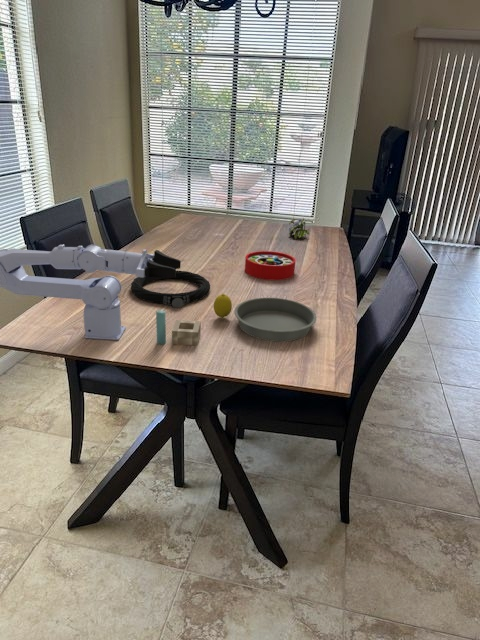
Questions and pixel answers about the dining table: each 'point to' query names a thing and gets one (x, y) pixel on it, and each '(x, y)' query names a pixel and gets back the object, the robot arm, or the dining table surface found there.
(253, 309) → the cake pan
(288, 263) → the toy clock
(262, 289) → the dining table surface
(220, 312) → the lemon
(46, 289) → the robot arm
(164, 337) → the peg
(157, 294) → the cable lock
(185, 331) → the beige socket block
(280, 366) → the dining table surface
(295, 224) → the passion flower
